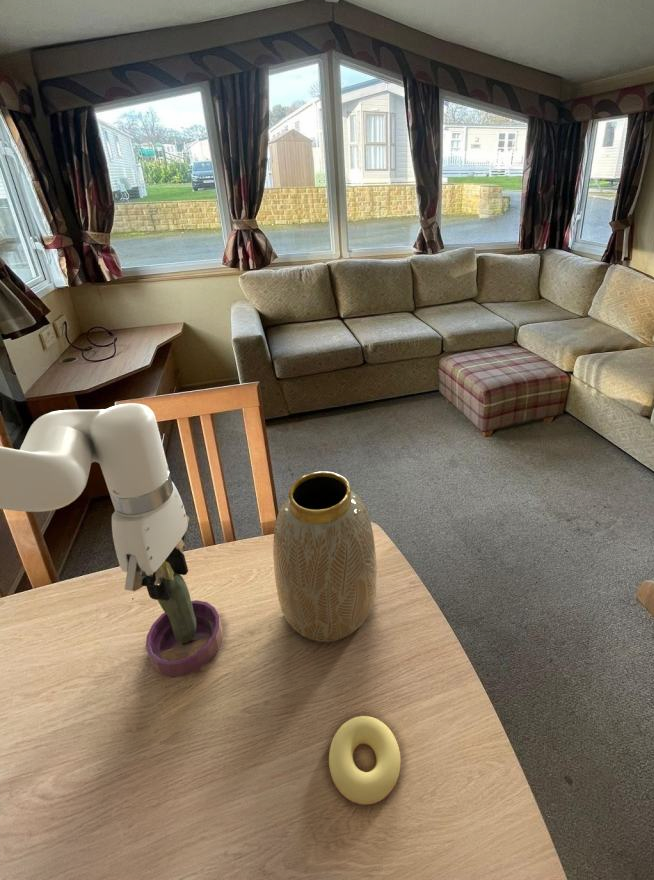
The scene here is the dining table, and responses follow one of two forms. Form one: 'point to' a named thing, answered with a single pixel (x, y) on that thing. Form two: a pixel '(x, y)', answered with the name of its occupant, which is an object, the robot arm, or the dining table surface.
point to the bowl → (165, 640)
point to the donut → (345, 772)
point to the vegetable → (178, 605)
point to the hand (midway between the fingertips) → (169, 583)
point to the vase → (324, 558)
